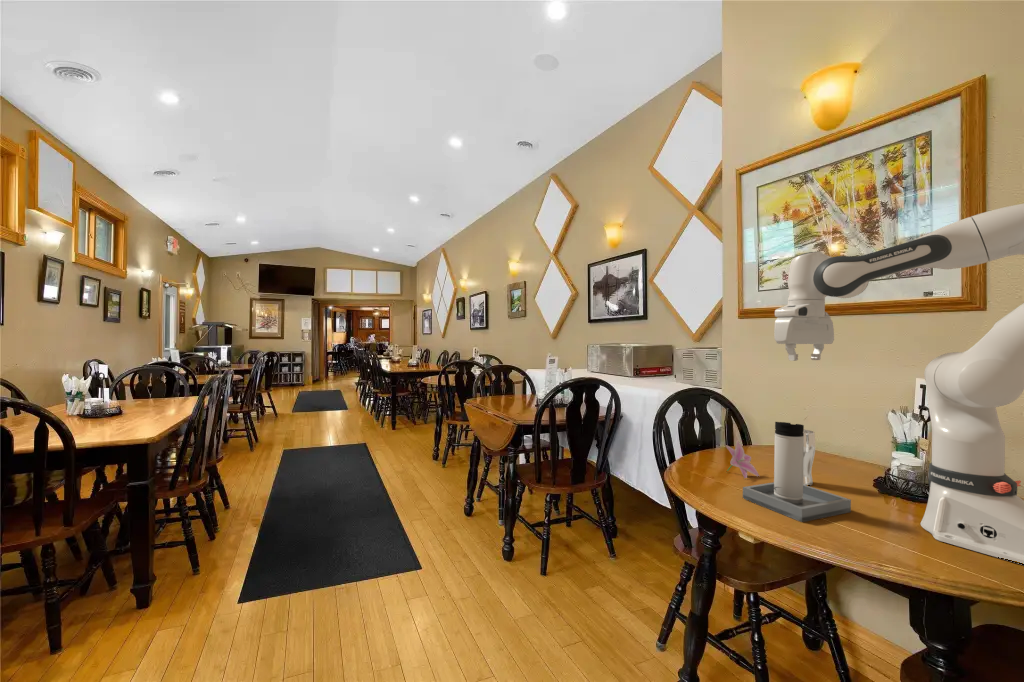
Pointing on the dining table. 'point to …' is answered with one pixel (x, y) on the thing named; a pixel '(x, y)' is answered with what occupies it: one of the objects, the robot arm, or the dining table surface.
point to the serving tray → (810, 509)
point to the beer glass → (808, 456)
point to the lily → (741, 460)
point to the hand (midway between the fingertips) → (804, 360)
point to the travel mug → (789, 462)
